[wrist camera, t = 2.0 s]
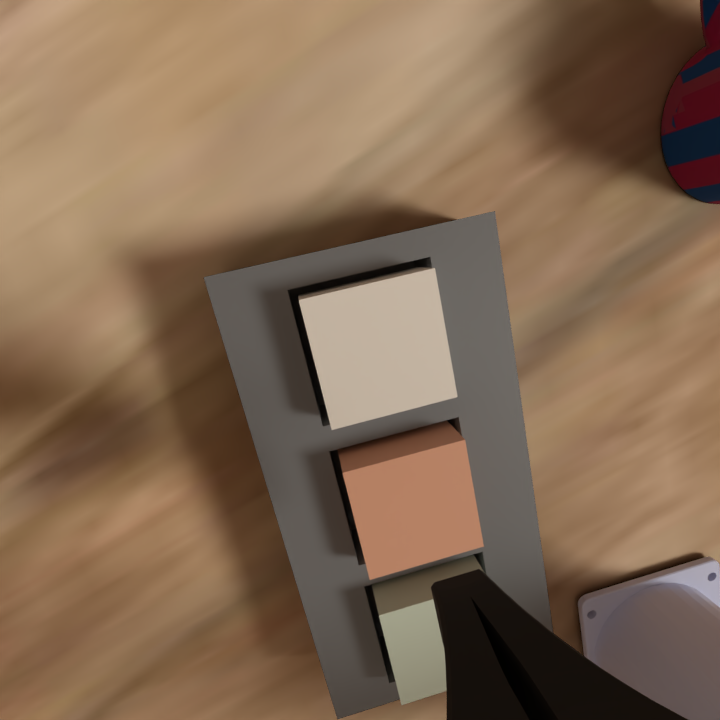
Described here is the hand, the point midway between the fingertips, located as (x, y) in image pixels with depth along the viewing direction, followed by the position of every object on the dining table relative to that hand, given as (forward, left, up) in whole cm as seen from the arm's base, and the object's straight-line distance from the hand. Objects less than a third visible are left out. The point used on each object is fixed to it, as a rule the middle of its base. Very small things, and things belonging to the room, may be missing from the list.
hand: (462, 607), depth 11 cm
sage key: (-6, 0, -7) cm, 9 cm away
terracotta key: (0, 0, -7) cm, 7 cm away
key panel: (0, 0, -9) cm, 9 cm away
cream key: (+6, 0, -7) cm, 9 cm away
